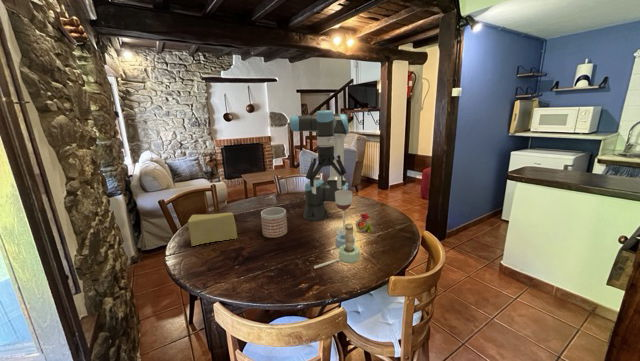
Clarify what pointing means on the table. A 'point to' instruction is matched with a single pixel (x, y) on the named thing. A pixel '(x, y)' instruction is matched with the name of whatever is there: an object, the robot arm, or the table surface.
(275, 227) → the planter
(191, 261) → the table surface
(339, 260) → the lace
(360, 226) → the red green lumpy piece
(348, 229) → the wooden dowel
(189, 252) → the table surface
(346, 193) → the wineglass
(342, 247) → the bead
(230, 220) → the cheese
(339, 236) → the blue bead
